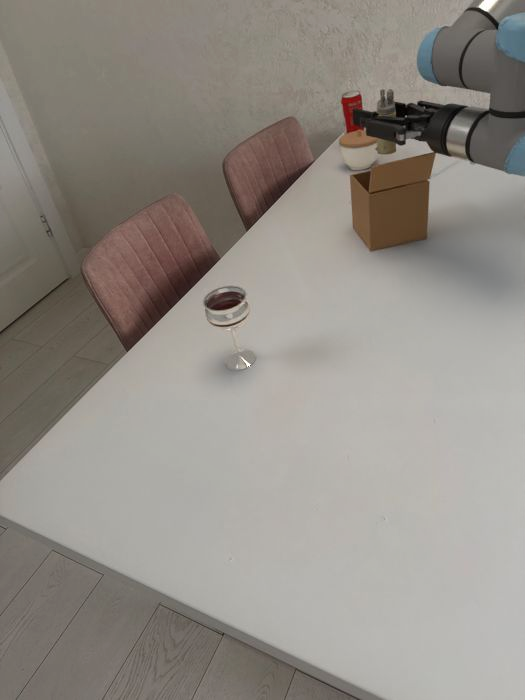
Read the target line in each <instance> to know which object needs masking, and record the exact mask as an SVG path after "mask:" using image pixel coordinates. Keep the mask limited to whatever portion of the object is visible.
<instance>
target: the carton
mask: <svg viewBox="0 0 525 700" xmlns="http://www.w3.org/2000/svg"><path fill="white" fill-rule="evenodd" d="M370 174H371V169H370V170H365V171H361V172H357V173H352V174H350V175H349V183H350V185H349V186H350V198H351V199H350V200H351V201H350V202H351V219H352V220H351V221H352V228H353V230H354V231H355V232H356V234H357V235H358V236H359V238H360V239H361V240H362V242H363V243H364V245H365V246H366V247H367V249H368V250H369V251H370V252H373V251H378V250H381V249H386V248H390V247H394V246H400V245H404V244H407V243H412V242H417V241H420V240H426V239H427V238H428V229H429V227H428V225H429V206H430V205H429V204H430V203H429V202H430V184H431V183H430V181H429V179H427V180H423V181H419V182H414V183H410V184H405V185H401V186H397V187H392V188H388V189H384V190H379V191H375V192H370V193H369V184H370Z"/></svg>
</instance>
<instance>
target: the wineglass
mask: <svg viewBox="0 0 525 700" xmlns="http://www.w3.org/2000/svg"><path fill="white" fill-rule="evenodd" d="M247 295H248V293H247V290H245V289H244V288H243V287H241V286H239V285H224V286H219V287H217V288H214V289H212V290H211V291H209V292H207V293H206V295H205V296H204V297H203V298H202V306H203V308H205V309H204V314H205V318H206V320H207V322H208V323H209V324H210V325H211V326H212V328H215V329H217V330H221V331H225V332H230V334H231V337H232V340H233V343H234V347H235V351H232V352H231V353H230V354H229V355H227V356H226V358H225V362H224V363H225V366H226V365H227V366H226V367H227V368H228V367H229V369H230V370H234V371H240V370H245V369H247V368H249V367H251V366H252V365H254V362H255V361H256V354H255V352H253V351H252V350H249V349H240V346H239V341H238V337H237V336H238V335H237V331H236V330H237V329H239V328H241V327H242V326H243V325H244V324H245V323H246V322H247V320H248V319H249V316H250V312H251V306H250V305H251V304H250V302H249V300H248V298H247ZM250 365H251V366H250ZM248 366H249V367H248Z"/></svg>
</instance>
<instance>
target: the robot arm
mask: <svg viewBox="0 0 525 700" xmlns="http://www.w3.org/2000/svg"><path fill="white" fill-rule="evenodd" d="M417 49H418V50H417V54H416V68H417V71H418V73H419V75H420V76H421V78H422V79H424V80H425V81H426V82H430V83H432V84H435V85H438V86H440V87H452V88H457V89H465V90H470V91H475V92H478V93H479V92H480V93H486V94H489V105H488V108H485V107H479V106H473V105H472V106H471V105H470V106H469V105H464V104H459V103H458V104H457V103H452V102H451V103H446V104H442V103H436V102H431V101H426V100H422V99H421V100H417V102H416V103H414V102H409V103H404V102H400V101H394V102H395V109H396V117H386V116H378V113H377V110H375V111H370V110H365V109H363V110H361V109H356V108H355V109H353V125H357V126H361V127H364V129H365V130H366V135H367V136H370V137H375V138H379V139H383V140H387V141H391V142H395V143H396V145H398V146H401V147H402V146H405V145H406V144H407V142H406V141H407V140H414V141H418V142H423V143H426V144H427V145H428V148H429V149H430V150H431V151H432V152H435V153H436V154H438V155H442V156H445V157H450V158H455V159H459V160H461V161H465V162H469V163H470V165H480V166H483V167H487V168H490V169H494V170H497V171H501V172H504V173H506V174H508V175H515V176H520V177H525V0H472V2H471V3H470V4H469V5H468V6H467V7H466V8H465V10H464V11H463V12H462V14H460V15H459V17H458V18H457V19H456V20H455V21H454V22H453V23H452V24H451V26H449V25H444V26H442V27H436V28H434V29H432V30H430V31H429V32H427V34H426V35H425V36H424V37H423V39H422V40H421V42H420V44H419V46H418V48H417Z"/></svg>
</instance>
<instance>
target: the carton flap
mask: <svg viewBox="0 0 525 700" xmlns="http://www.w3.org/2000/svg"><path fill="white" fill-rule="evenodd" d="M436 154H437V153H435V152H433V151H432V152H428V153H423V154H419V155H415V156H411V157H406V158H402V159H398V160H392V161H389V162H383V163H380V164H375V165H372V166H371V167H370V170H371V174H370V184H369V193H370V192H375V191H379V190H384V189H388V188H392V187H397V186H401V185H405V184H410V183H414V182H419V181H423V180H430V179H431V175H432V173H433V172H432V171H433V167H434V164H435V159H436Z"/></svg>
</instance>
